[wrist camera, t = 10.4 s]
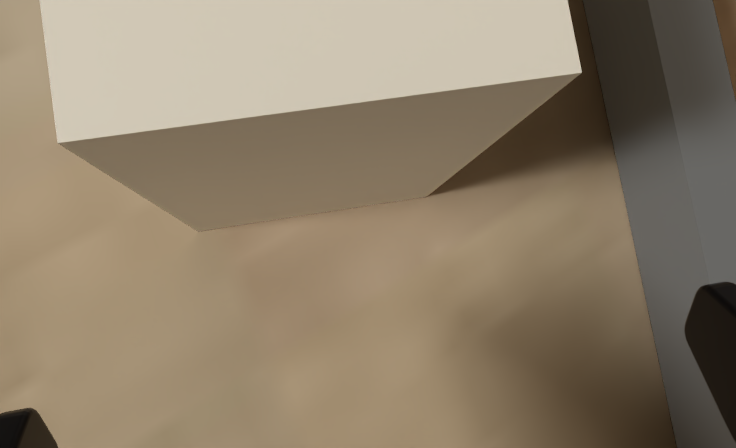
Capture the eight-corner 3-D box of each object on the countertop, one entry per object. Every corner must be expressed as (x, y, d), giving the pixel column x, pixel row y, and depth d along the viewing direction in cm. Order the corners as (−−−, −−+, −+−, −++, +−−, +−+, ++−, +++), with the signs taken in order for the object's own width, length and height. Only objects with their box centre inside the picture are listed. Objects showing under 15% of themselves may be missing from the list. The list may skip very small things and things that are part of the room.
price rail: (777, 581, 18) (874, 639, 15) (709, 597, 17) (792, 660, 14) (606, -196, 20) (660, -284, 17) (543, -190, 19) (587, -278, 16)
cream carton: (431, 196, 18) (593, 71, 8) (198, 231, 17) (57, 142, 7) (394, -18, 18) (503, -386, 8) (166, 7, 18) (-6, -359, 8)
